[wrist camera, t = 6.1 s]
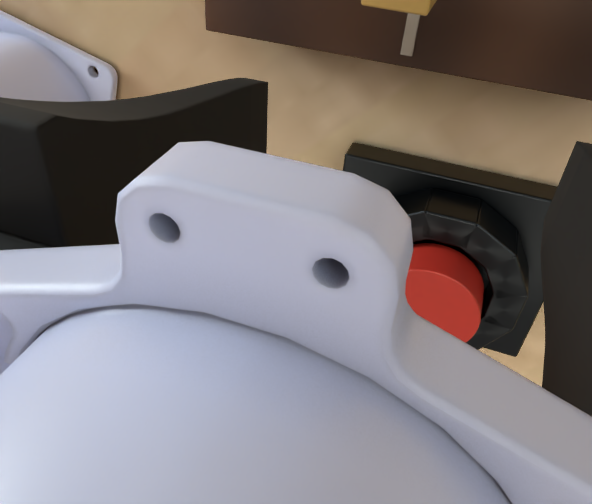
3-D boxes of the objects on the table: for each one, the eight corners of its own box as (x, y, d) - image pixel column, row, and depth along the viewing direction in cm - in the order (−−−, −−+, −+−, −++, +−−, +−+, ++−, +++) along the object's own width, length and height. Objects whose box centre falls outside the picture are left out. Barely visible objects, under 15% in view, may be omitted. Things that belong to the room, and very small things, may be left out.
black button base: (331, 286, 27) (312, 326, 24) (352, 141, 22) (331, 175, 20) (517, 339, 25) (515, 388, 22) (587, 192, 20) (593, 237, 17)
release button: (374, 305, 23) (364, 333, 22) (390, 231, 20) (380, 257, 19) (468, 333, 22) (464, 364, 21) (497, 258, 20) (494, 288, 18)
